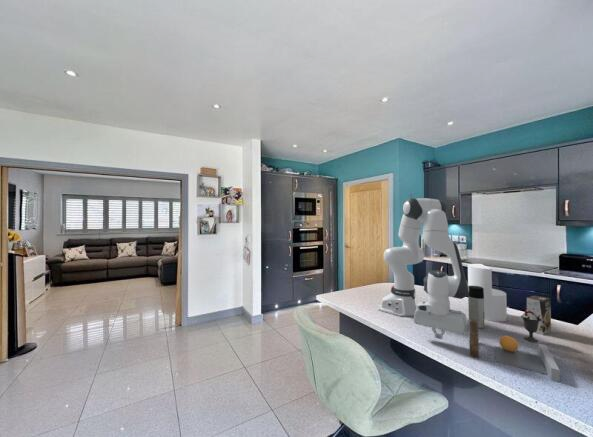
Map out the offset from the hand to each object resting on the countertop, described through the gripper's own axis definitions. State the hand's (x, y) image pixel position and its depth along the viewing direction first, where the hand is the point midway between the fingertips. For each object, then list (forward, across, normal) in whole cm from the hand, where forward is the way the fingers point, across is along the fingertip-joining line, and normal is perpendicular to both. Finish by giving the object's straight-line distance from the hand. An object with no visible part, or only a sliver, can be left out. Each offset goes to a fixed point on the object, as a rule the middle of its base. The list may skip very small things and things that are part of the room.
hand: (438, 338), depth 112 cm
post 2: (+2, -13, +5) cm, 14 cm away
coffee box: (+2, -39, -40) cm, 56 cm away
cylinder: (+2, -19, -50) cm, 54 cm away
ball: (-1, -25, -8) cm, 26 cm away
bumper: (+2, -36, -2) cm, 36 cm away
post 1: (+2, -13, -8) cm, 16 cm away
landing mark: (+2, -27, -2) cm, 27 cm away
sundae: (+2, -34, -25) cm, 42 cm away
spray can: (+2, -14, -30) cm, 33 cm away
